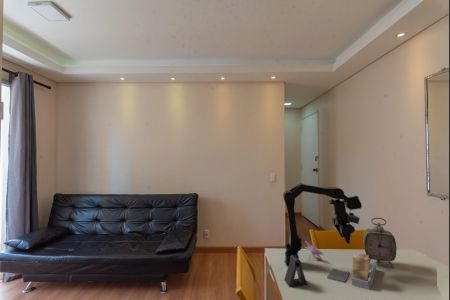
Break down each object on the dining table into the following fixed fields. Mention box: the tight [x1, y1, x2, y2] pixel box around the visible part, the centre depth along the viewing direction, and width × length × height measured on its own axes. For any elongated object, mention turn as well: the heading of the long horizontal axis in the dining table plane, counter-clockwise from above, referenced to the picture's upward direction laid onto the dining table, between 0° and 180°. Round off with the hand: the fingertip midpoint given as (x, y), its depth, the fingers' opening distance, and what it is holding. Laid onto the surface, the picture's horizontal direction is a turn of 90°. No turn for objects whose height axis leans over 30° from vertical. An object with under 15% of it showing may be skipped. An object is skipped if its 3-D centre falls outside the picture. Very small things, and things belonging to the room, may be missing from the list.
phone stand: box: [284, 255, 309, 288], centre depth 123 cm, size 9×6×12 cm, turn 97°
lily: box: [304, 240, 325, 262], centre depth 149 cm, size 12×12×10 cm
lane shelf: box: [351, 261, 377, 290], centre depth 127 cm, size 7×22×4 cm, turn 145°
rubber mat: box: [326, 268, 350, 283], centre depth 129 cm, size 8×11×1 cm
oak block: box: [352, 252, 370, 282], centre depth 123 cm, size 6×6×12 cm
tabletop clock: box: [362, 217, 398, 268], centre depth 142 cm, size 14×9×25 cm, turn 68°
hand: (345, 240), depth 139 cm, fingers open, 9 cm apart
